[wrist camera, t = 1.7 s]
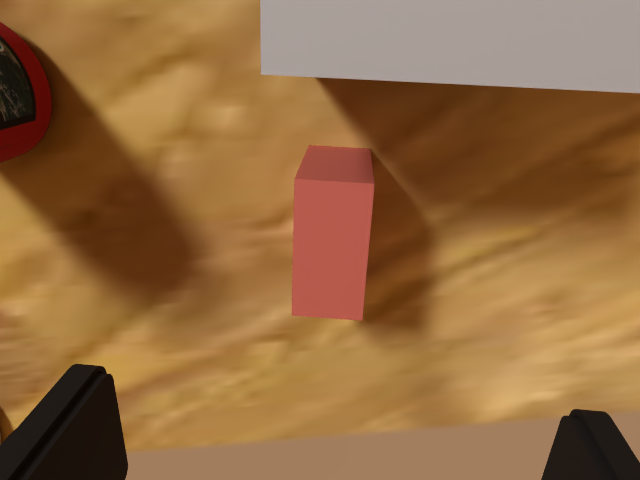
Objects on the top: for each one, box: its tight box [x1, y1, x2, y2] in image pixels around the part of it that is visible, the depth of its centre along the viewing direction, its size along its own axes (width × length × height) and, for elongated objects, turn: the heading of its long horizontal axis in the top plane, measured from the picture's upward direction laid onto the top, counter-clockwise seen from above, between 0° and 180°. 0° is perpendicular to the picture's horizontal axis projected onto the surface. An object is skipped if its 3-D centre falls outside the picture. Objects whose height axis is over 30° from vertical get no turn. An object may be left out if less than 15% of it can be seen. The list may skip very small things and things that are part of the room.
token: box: [292, 145, 375, 320], centre depth 22 cm, size 6×3×6 cm, turn 178°
